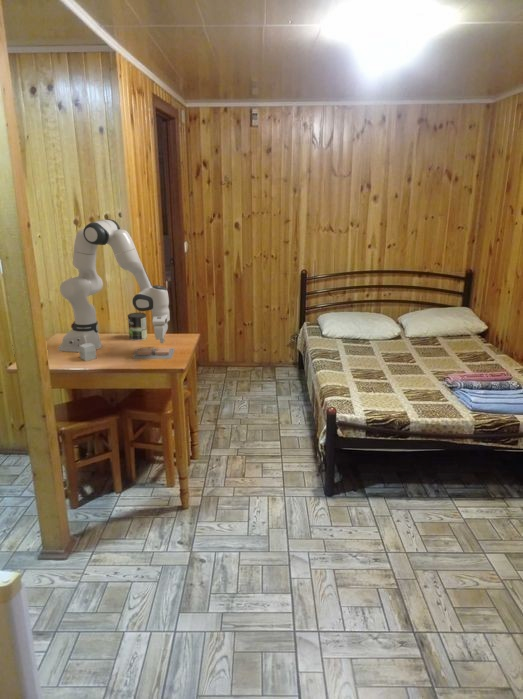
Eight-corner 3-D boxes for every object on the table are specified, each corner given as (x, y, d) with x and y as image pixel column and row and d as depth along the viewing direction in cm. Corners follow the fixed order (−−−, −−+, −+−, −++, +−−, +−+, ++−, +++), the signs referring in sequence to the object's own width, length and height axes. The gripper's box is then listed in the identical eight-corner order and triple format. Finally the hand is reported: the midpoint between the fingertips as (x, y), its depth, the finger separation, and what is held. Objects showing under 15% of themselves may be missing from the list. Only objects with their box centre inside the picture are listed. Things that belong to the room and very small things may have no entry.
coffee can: (133, 342, 278) (131, 318, 274) (126, 337, 286) (124, 314, 281) (150, 339, 284) (149, 315, 279) (143, 334, 292) (141, 311, 287)
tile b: (157, 350, 263) (155, 355, 256) (157, 347, 262) (154, 352, 256) (170, 350, 263) (168, 355, 257) (170, 347, 263) (168, 352, 256)
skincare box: (96, 358, 252) (95, 344, 250) (85, 361, 248) (83, 347, 246) (91, 355, 256) (89, 342, 254) (80, 358, 252) (78, 344, 250)
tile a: (140, 351, 263) (137, 355, 256) (140, 348, 262) (137, 352, 255) (153, 350, 263) (151, 355, 256) (153, 347, 262) (151, 352, 256)
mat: (131, 359, 251) (131, 358, 251) (137, 349, 266) (137, 348, 266) (171, 359, 252) (171, 358, 252) (175, 349, 267) (175, 348, 267)
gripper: (158, 312, 264) (159, 336, 268) (151, 322, 244) (153, 348, 249) (169, 312, 264) (171, 336, 268) (164, 322, 244) (165, 348, 249)
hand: (162, 342), depth 258 cm, fingers closed
